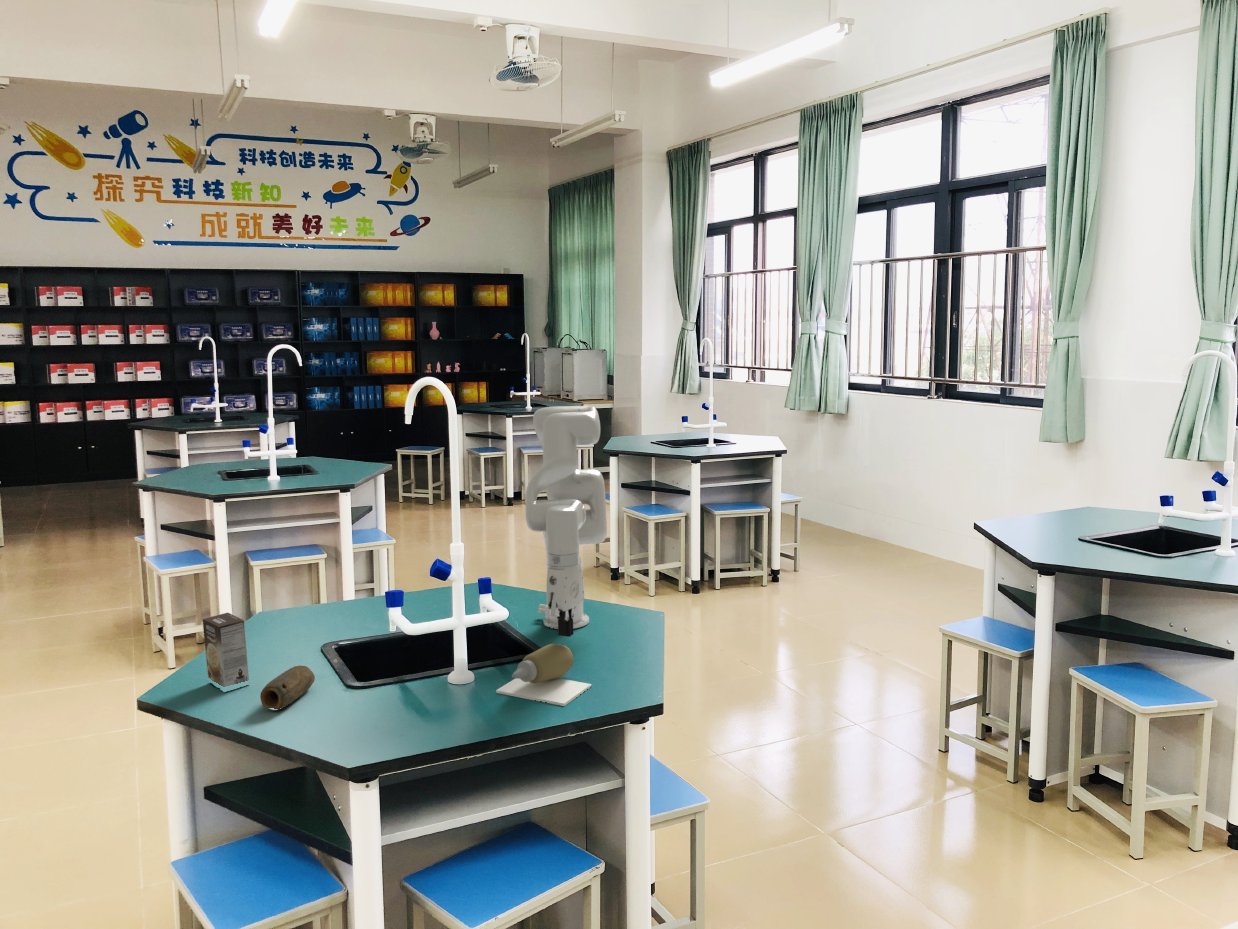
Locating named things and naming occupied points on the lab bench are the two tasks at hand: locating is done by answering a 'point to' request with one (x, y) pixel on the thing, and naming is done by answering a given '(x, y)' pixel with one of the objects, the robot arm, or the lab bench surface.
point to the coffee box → (226, 649)
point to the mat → (545, 690)
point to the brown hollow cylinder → (287, 687)
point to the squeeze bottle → (545, 664)
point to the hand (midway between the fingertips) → (566, 634)
